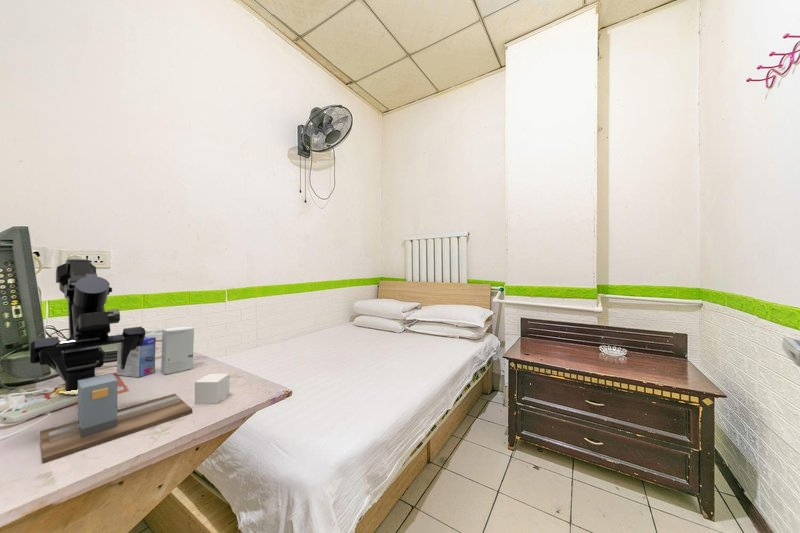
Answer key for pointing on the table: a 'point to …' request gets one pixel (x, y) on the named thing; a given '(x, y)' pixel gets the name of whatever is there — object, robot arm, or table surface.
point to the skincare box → (177, 349)
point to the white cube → (211, 388)
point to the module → (97, 404)
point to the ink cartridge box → (138, 359)
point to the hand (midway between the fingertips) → (96, 373)
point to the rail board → (128, 421)
